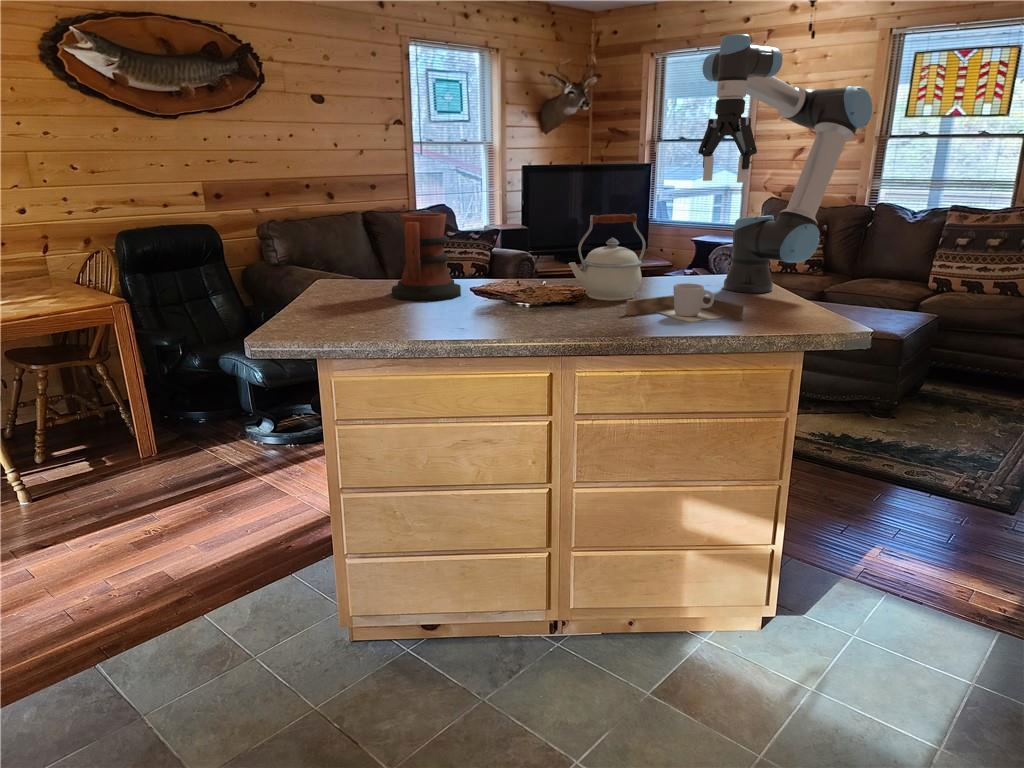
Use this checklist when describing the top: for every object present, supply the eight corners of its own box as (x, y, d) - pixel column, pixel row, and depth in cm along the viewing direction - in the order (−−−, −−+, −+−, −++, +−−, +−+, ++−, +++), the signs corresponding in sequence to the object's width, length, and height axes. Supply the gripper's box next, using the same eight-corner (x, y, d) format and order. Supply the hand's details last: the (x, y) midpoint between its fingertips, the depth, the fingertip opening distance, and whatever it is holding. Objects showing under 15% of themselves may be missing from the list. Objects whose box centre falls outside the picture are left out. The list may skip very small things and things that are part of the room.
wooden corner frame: (692, 306, 211) (693, 293, 210) (742, 320, 194) (743, 305, 193) (625, 314, 201) (626, 300, 200) (671, 329, 184) (672, 314, 183)
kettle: (628, 289, 238) (632, 210, 230) (656, 299, 221) (661, 215, 214) (557, 294, 230) (558, 213, 223) (580, 305, 214) (582, 218, 206)
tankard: (468, 289, 238) (467, 212, 230) (449, 305, 215) (446, 219, 207) (404, 288, 242) (400, 211, 234) (377, 302, 218) (372, 218, 211)
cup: (711, 313, 202) (714, 284, 199) (713, 319, 194) (715, 289, 192) (671, 311, 204) (673, 282, 201) (671, 317, 196) (673, 287, 194)
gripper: (689, 101, 204) (683, 180, 210) (754, 95, 183) (746, 183, 189) (710, 101, 207) (704, 179, 214) (776, 96, 186) (767, 182, 192)
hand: (723, 181), depth 201 cm, fingers open, 13 cm apart
